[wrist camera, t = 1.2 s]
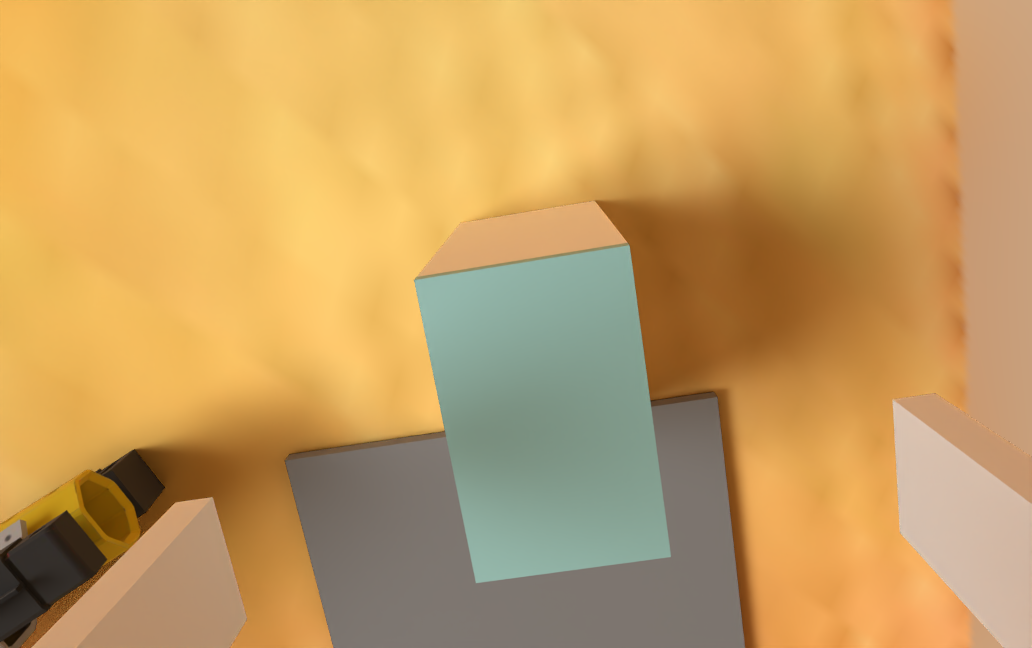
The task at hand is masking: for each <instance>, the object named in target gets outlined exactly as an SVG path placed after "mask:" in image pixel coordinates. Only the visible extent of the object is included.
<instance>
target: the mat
mask: <svg viewBox="0 0 1032 648" xmlns="http://www.w3.org/2000/svg"><path fill="white" fill-rule="evenodd" d="M650 402H651V410H652V417H653V425H654V432H655V440H656V447H657V455H658V462H659V470H660V477H661V485H662V492H663V500H664V507H665V515H666V522H667V530H668V537H669V545H670V552H671V557H667V558H660V559H652V560H645V561H637V562H630V563H622V564H615V565H607V566H600V567H593V568H585V569H578V570H570V571H563V572H555V573H548V574H540V575H533V576H525V577H518V578H511V579H503V580H496V581H488V582H481V583H476V581H475V576H474V571H473V566H472V561H471V556H470V551H469V546H468V541H467V536H466V532H465V527H464V522H463V517H462V512H461V507H460V502H459V497H458V492H457V488H456V483H455V478H454V473H453V468H452V463H451V458H450V453H449V448H448V443H447V439H446V434H445V432H438V433H431V434H424V435H418V436H411V437H404V438H397V439H390V440H384V441H377V442H370V443H363V444H357V445H350V446H343V447H336V448H329V449H323V450H316V451H309V452H302V453H296V454H289V456H288V457H287V458H286V460H285V464H286V467H287V471H288V475H289V479H290V483H291V487H292V490H293V494H294V498H295V502H296V506H297V510H298V513H299V517H300V521H301V525H302V529H303V533H304V536H305V540H306V544H307V548H308V552H309V556H310V559H311V563H312V567H313V571H314V575H315V579H316V582H317V586H318V590H319V594H320V598H321V602H322V605H323V609H324V613H325V617H326V621H327V625H328V628H329V632H330V636H331V640H332V644H333V647H334V648H745V643H744V634H743V625H742V616H741V607H740V598H739V588H738V579H737V570H736V561H735V552H734V543H733V534H732V525H731V516H730V507H729V498H728V489H727V480H726V471H725V462H724V453H723V444H722V435H721V426H720V416H719V407H718V398H717V396H716V394H715V393H714V392H709V393H702V394H695V395H689V396H682V397H675V398H668V399H662V400H655V401H650Z"/></svg>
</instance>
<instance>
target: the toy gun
mask: <svg viewBox="0 0 1032 648" xmlns="http://www.w3.org/2000/svg"><path fill="white" fill-rule="evenodd" d="M164 488H165V487H164V486H163V485H162V484H161V482H160V481H159V480H158V478H157V477H156V476H155V475H154V473H153V472H152V471H151V470H150V468H149V467H148V466H147V465H146V463H145V462H144V461H143V460H142V458H141V457H140V456H139V454H138V453H137V452H136V451H135V449H134V450H132V451H131V452H129V453H127V454H126V455H124V456H123V457H121V458H120V459H118V460H117V461H115V462H114V463H112V464H111V465H109V466H107V467H106V468H104V469H103V470H101V469H99V470H98V471H96V472H93V471H91V470H85V471H84V472H82V473H81V474H79V475H78V476H76V477H74V478H73V479H71V480H70V481H68V482H66V483H65V484H63V485H62V486H60V487H58V488H57V489H55V490H54V491H52V492H50V493H49V494H47V495H46V496H44V497H42V498H41V499H39V500H38V501H36V502H35V503H33V504H31V505H30V506H28V507H27V508H25V509H23V510H22V511H20V512H19V513H17V514H15V515H14V516H12V517H11V518H9V519H7V520H6V521H4V522H3V523H1V524H0V648H20V647H21V646H22V645H23V644H24V642H25V641H26V640H27V639H28V638H29V636H30V635H31V634H32V633H33V632H34V631H35V629H36V625H37V617H39V616H40V615H42V614H43V613H45V612H46V611H48V610H49V608H50V607H51V606H52V605H53V604H54V603H55V602H56V601H58V600H59V599H61V598H62V597H64V596H65V595H67V594H68V593H70V592H71V591H73V590H74V589H76V588H77V587H79V586H80V585H82V584H83V583H85V582H86V581H88V580H89V579H90V578H92V577H93V576H94V575H95V574H96V573H97V572H98V571H99V569H100V568H101V567H102V566H104V565H106V564H107V563H109V562H110V561H112V560H113V559H115V558H116V557H118V556H120V555H121V554H123V553H124V552H126V551H127V550H129V549H130V548H131V547H132V546H133V545H134V544H135V542H136V541H137V540H138V538H139V537H140V527H139V524H138V520H137V518H138V517H140V516H141V515H143V514H144V513H146V511H147V510H148V509H149V508H150V506H151V505H152V504H153V503H154V501H155V500H156V499H157V497H158V496H159V495H160V494H161V492H162V491H163V490H164Z"/></svg>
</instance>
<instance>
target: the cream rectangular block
mask: <svg viewBox="0 0 1032 648" xmlns="http://www.w3.org/2000/svg"><path fill="white" fill-rule="evenodd" d="M414 282H415V287H416V292H417V296H418V301H419V306H420V311H421V316H422V321H423V326H424V331H425V336H426V341H427V345H428V350H429V355H430V360H431V365H432V370H433V375H434V380H435V385H436V390H437V394H438V399H439V404H440V409H441V414H442V419H443V424H444V429H445V434H446V439H447V443H448V448H449V453H450V458H451V463H452V468H453V473H454V478H455V483H456V488H457V492H458V497H459V502H460V507H461V512H462V517H463V522H464V527H465V532H466V536H467V541H468V546H469V551H470V556H471V561H472V566H473V571H474V576H475V581H476V583H481V582H488V581H496V580H503V579H511V578H518V577H525V576H533V575H540V574H548V573H555V572H563V571H570V570H578V569H585V568H593V567H600V566H607V565H615V564H622V563H630V562H637V561H645V560H652V559H660V558H667V557H671V552H670V545H669V537H668V530H667V522H666V515H665V507H664V500H663V492H662V485H661V477H660V470H659V462H658V455H657V447H656V440H655V432H654V425H653V417H652V410H651V402H650V395H649V387H648V380H647V372H646V365H645V357H644V350H643V342H642V335H641V327H640V320H639V312H638V305H637V297H636V290H635V282H634V275H633V267H632V260H631V252H630V245H629V244H628V243H627V241H626V240H625V239H624V237H623V236H622V235H621V234H620V232H619V231H618V230H617V228H616V227H615V226H614V225H613V223H612V222H611V221H610V220H609V218H608V217H607V216H606V214H605V213H604V212H603V211H602V209H601V208H600V207H599V206H598V204H597V203H596V202H595V201H589V202H583V203H577V204H571V205H565V206H559V207H553V208H547V209H541V210H535V211H529V212H523V213H517V214H511V215H505V216H499V217H493V218H487V219H481V220H475V221H469V222H463V223H460V224H459V225H458V227H457V228H456V229H455V230H454V232H453V233H452V234H451V235H450V236H449V238H448V239H447V240H446V241H445V243H444V244H443V245H442V246H441V248H440V249H439V250H438V251H437V253H436V254H435V255H434V256H433V257H432V259H431V260H430V261H429V262H428V264H427V265H426V266H425V267H424V269H423V270H422V271H421V272H420V274H419V275H418V276H417V277H416V278H415V280H414Z"/></svg>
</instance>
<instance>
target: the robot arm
mask: <svg viewBox="0 0 1032 648" xmlns="http://www.w3.org/2000/svg"><path fill="white" fill-rule="evenodd" d="M893 415H894V433H895V451H896V469H897V487H898V505H899V523H900V533H901V534H902V536H903V537H904V538H905V539H906V540H907V541H908V542H909V543H910V544H911V546H912V547H913V548H914V549H915V550H916V551H917V552H918V553H919V554H920V556H921V557H922V558H923V559H924V560H925V561H926V562H927V563H928V564H929V566H930V567H931V568H932V569H933V570H934V571H935V572H936V573H937V574H938V575H939V577H940V578H941V579H942V580H943V581H944V582H945V583H946V584H947V585H948V587H949V588H950V589H951V590H952V591H953V592H954V593H955V594H956V595H957V597H958V598H959V599H960V600H961V601H962V602H963V603H964V604H965V605H966V607H967V608H968V609H969V610H970V611H971V612H972V613H973V614H974V615H975V616H976V618H977V619H978V620H979V621H980V622H981V623H982V624H983V625H984V626H985V628H986V629H987V630H988V631H989V632H990V633H991V634H992V635H993V636H994V638H995V639H996V640H997V641H998V642H999V643H1000V644H1001V645H1002V646H1003V648H1032V457H1031V456H1030V455H1028V454H1027V453H1025V452H1024V451H1022V450H1021V449H1019V448H1018V447H1016V446H1015V445H1013V444H1012V443H1010V442H1009V441H1007V440H1005V439H1004V438H1002V437H1001V436H999V435H998V434H996V433H995V432H993V431H992V430H990V429H989V428H987V427H985V426H984V425H983V424H981V423H980V422H978V421H977V420H975V419H973V418H972V417H970V416H969V415H967V414H966V413H964V412H963V411H961V410H960V409H958V408H957V407H955V406H954V405H952V404H951V403H949V402H948V401H946V400H945V399H943V398H941V397H940V396H938V395H937V394H935V393H933V394H926V395H920V396H913V397H906V398H899V399H893ZM246 620H247V616H246V613H245V609H244V606H243V602H242V599H241V595H240V592H239V588H238V585H237V581H236V577H235V574H234V570H233V567H232V563H231V560H230V556H229V553H228V549H227V546H226V542H225V539H224V535H223V532H222V528H221V525H220V521H219V518H218V514H217V510H216V507H215V503H214V500H213V497H210V498H203V499H196V500H189V501H182V502H176V503H175V504H174V505H173V506H172V507H171V508H170V509H169V510H168V511H167V512H166V513H165V514H164V515H163V516H162V517H161V518H160V519H159V520H158V521H157V522H156V523H155V524H154V525H153V526H152V527H151V528H150V529H149V530H148V531H147V532H146V533H145V534H144V535H143V536H142V537H141V538H140V539H139V540H138V541H137V542H136V543H135V544H134V545H133V546H132V547H131V548H130V549H129V550H128V551H127V552H126V553H125V554H124V555H123V556H122V557H121V558H120V559H119V560H118V561H117V562H116V563H115V564H114V565H113V566H112V567H111V568H110V569H109V570H108V571H107V572H106V573H105V574H104V575H103V576H102V577H101V578H100V579H99V580H98V581H97V582H96V583H95V584H94V585H93V586H92V587H91V588H90V589H89V590H88V591H87V592H86V593H85V594H84V595H83V596H82V597H81V598H80V599H79V600H78V601H77V602H76V603H75V604H74V605H73V606H72V607H71V608H70V609H69V610H68V611H67V612H66V613H65V614H64V615H63V616H62V617H61V618H60V619H59V620H58V621H57V622H56V623H55V624H54V625H53V626H52V627H51V628H50V629H49V630H48V631H47V632H46V633H45V634H44V635H43V636H42V637H41V638H40V639H39V640H38V641H37V642H36V643H35V644H34V645H33V646H32V647H31V648H230V647H231V645H232V643H233V642H234V640H235V638H236V637H237V635H238V633H239V632H240V630H241V628H242V627H243V625H244V623H245V622H246Z"/></svg>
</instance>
